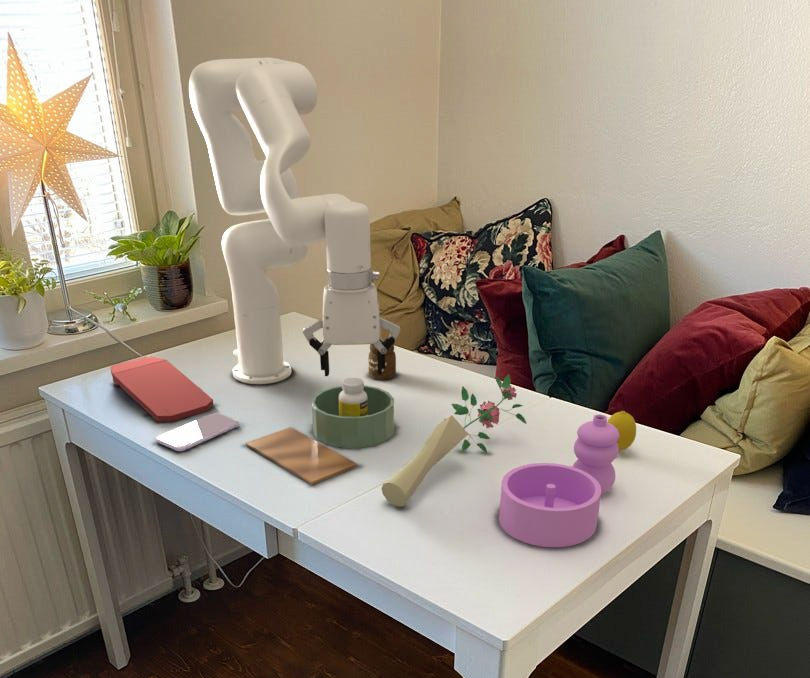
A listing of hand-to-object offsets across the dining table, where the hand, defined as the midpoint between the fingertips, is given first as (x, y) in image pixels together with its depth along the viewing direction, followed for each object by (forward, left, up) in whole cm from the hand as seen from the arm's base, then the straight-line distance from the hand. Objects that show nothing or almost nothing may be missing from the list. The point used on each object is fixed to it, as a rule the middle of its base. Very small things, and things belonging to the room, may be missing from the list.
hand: (353, 373), depth 160 cm
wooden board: (+2, -14, -12) cm, 18 cm away
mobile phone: (-18, -23, -12) cm, 32 cm away
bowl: (0, 0, -12) cm, 12 cm away
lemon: (+39, +30, -12) cm, 50 cm away
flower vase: (+23, +3, -12) cm, 26 cm away
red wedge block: (-39, -20, -12) cm, 45 cm away
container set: (+45, +7, -12) cm, 47 cm away
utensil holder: (-17, +22, -12) cm, 30 cm away
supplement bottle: (0, 0, -12) cm, 12 cm away
